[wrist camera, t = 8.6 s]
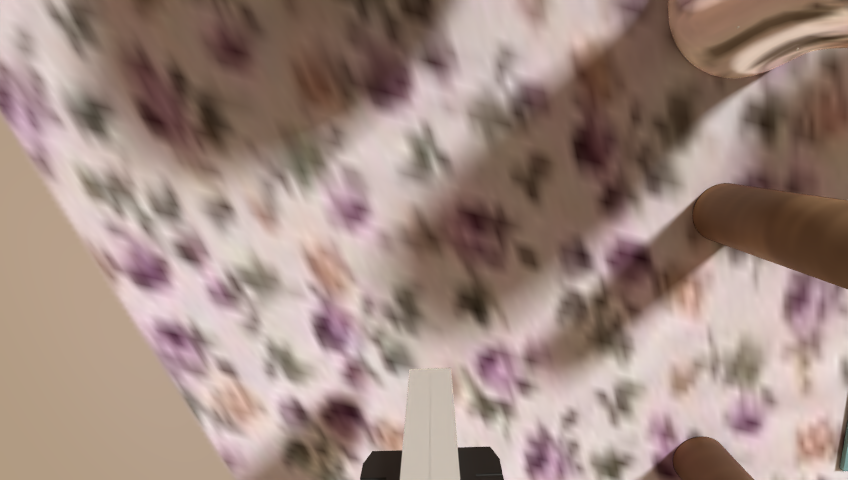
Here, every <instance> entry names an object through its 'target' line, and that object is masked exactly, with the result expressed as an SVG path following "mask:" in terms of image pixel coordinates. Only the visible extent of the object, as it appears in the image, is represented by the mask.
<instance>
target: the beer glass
mask: <svg viewBox="0 0 848 480" xmlns="http://www.w3.org/2000/svg"><path fill="white" fill-rule="evenodd" d="M668 20H669V26H670V30H671V33H672V36H673V39H674V41H675V43H676V45H677V47H678V49H679V50H680V52H681V53H682V54H683V56H684V57H685V58H686V59H687V60H688V61H689V62H690V63H691V64H693V65H694V66H695V67H697V68H698V69H700V70H702V71H704V72H706V73H708V74H711V75H714V76H717V77H723V78H745V77H750V76H755V75H758V74H761V73H764V72H767V71H769V70H772V69H774V68H776V67H779V66H781V65H783V64H785V63H787V62H789V61H791V60H793V59H795V58H797V57H800V56H802V55H804V54H806V53H808V52H811V51H816V50H823V49H833V48H848V0H668Z"/></svg>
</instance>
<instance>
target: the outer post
mask: <svg viewBox="0 0 848 480" xmlns="http://www.w3.org/2000/svg"><path fill="white" fill-rule="evenodd" d="M673 466H674V469H675V471H676V472H677V474H678V475H679V477H680V478H681V479H682V480H754V479H753V478H752V477H751V476H750V475H749V474H748V473H747V472H746V471H745V470H744V468H743V467H742V466H741V465H740V464H739V463H738V462H737V461H736V460H735V459H734V458H733V457H732V456H731V455H730V454H729V453H728V451H727V450H726V449H725V448H724V447H723V446H722V445H721V444H720V443H719V442H718V441H716V440H714V439H712V438H709V437H695V438H692V439H689V440H687V441H685V442H684V443H683V444H681V445H680V446H679V447H678V449H677V450H676V452H675V454H674V457H673Z"/></svg>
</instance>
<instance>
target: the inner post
mask: <svg viewBox="0 0 848 480" xmlns="http://www.w3.org/2000/svg"><path fill="white" fill-rule="evenodd" d="M693 222H694V225H695V227H696V229H697V231H698V232H699V233H700V234H701V235H702V236H704V237H705V238H707V239H710V240H712V241H715V242H718V243H721V244H723V245H726V246H729V247H732V248H735V249H737V250H740V251H743V252H746V253H748V254H751V255H754V256H757V257H760V258H762V259H765V260H768V261H771V262H773V263H776V264H779V265H782V266H785V267H787V268H790V269H793V270H796V271H798V272H801V273H804V274H807V275H810V276H812V277H815V278H818V279H821V280H823V281H826V282H829V283H832V284H834V285H837V286H840V287H843V288H846V289H848V201H847V200H840V199H833V198H826V197H820V196H813V195H806V194H799V193H792V192H785V191H778V190H771V189H765V188H758V187H751V186H744V185H737V184H730V183H723V184H718V185H715V186H713V187H711V188H709V189H707V190H706V191H705V192H704V193H703V194H702V195H701V196H700V197H699V198H698V200H697V202H696V204H695V206H694V210H693Z"/></svg>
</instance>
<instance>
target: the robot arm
mask: <svg viewBox="0 0 848 480" xmlns="http://www.w3.org/2000/svg"><path fill="white" fill-rule="evenodd" d="M360 480H504V479H503V475H502V469H501V464H500V459H499V458H498V456H497V455H496V454H495V453H494V451H493V450H492V449H491V448H490V447H464V448H458V447H457V435H456V423H455V410H454V398H453V386H452V374H451V368H434V369H410V370H409V381H408V392H407V404H406V415H405V426H404V438H403V449H402V451H372V453H371V454H370V455H369V457H368V458H367V459H366V461H365V462H364V463H363V467H362V472H361V477H360Z"/></svg>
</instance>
